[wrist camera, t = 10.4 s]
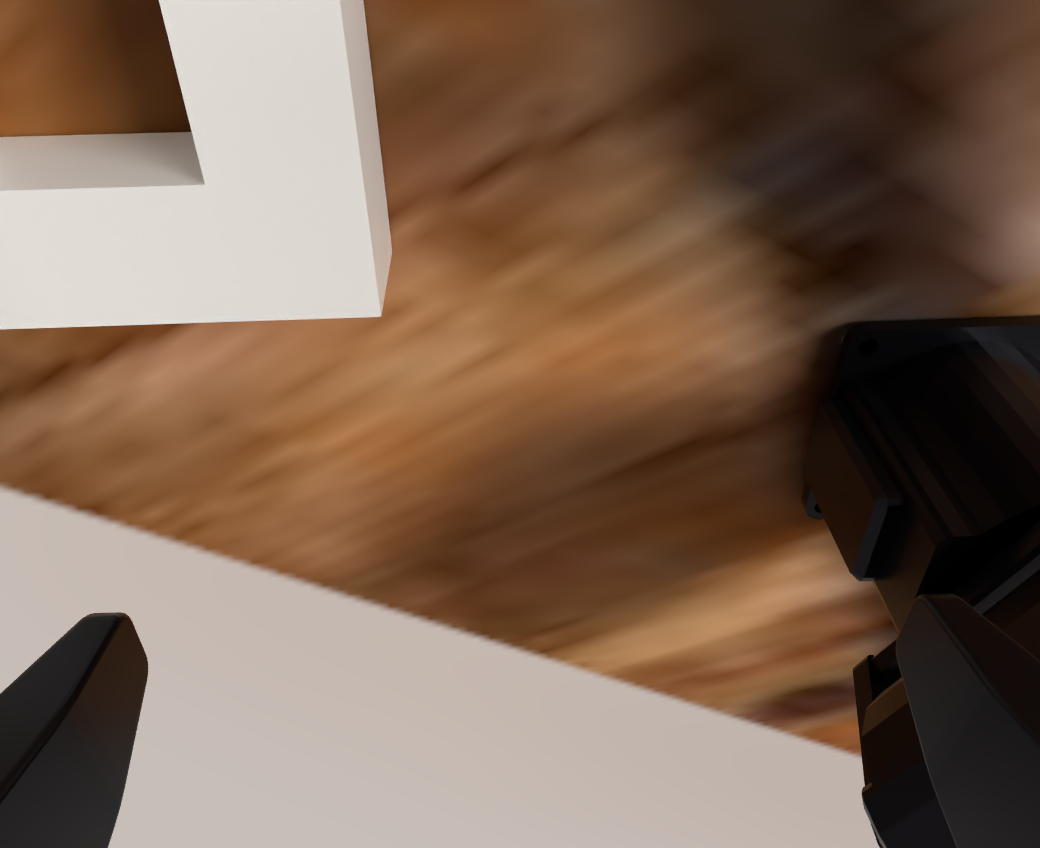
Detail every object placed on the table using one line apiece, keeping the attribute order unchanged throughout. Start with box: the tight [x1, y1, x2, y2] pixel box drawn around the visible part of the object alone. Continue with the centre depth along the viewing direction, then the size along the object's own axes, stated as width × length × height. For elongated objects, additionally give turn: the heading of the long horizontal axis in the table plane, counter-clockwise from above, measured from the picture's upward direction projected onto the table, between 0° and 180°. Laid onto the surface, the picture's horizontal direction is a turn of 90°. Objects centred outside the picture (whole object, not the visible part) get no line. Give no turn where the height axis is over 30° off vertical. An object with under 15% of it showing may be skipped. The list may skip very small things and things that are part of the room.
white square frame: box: [0, 0, 392, 329], centre depth 15 cm, size 11×11×3 cm
